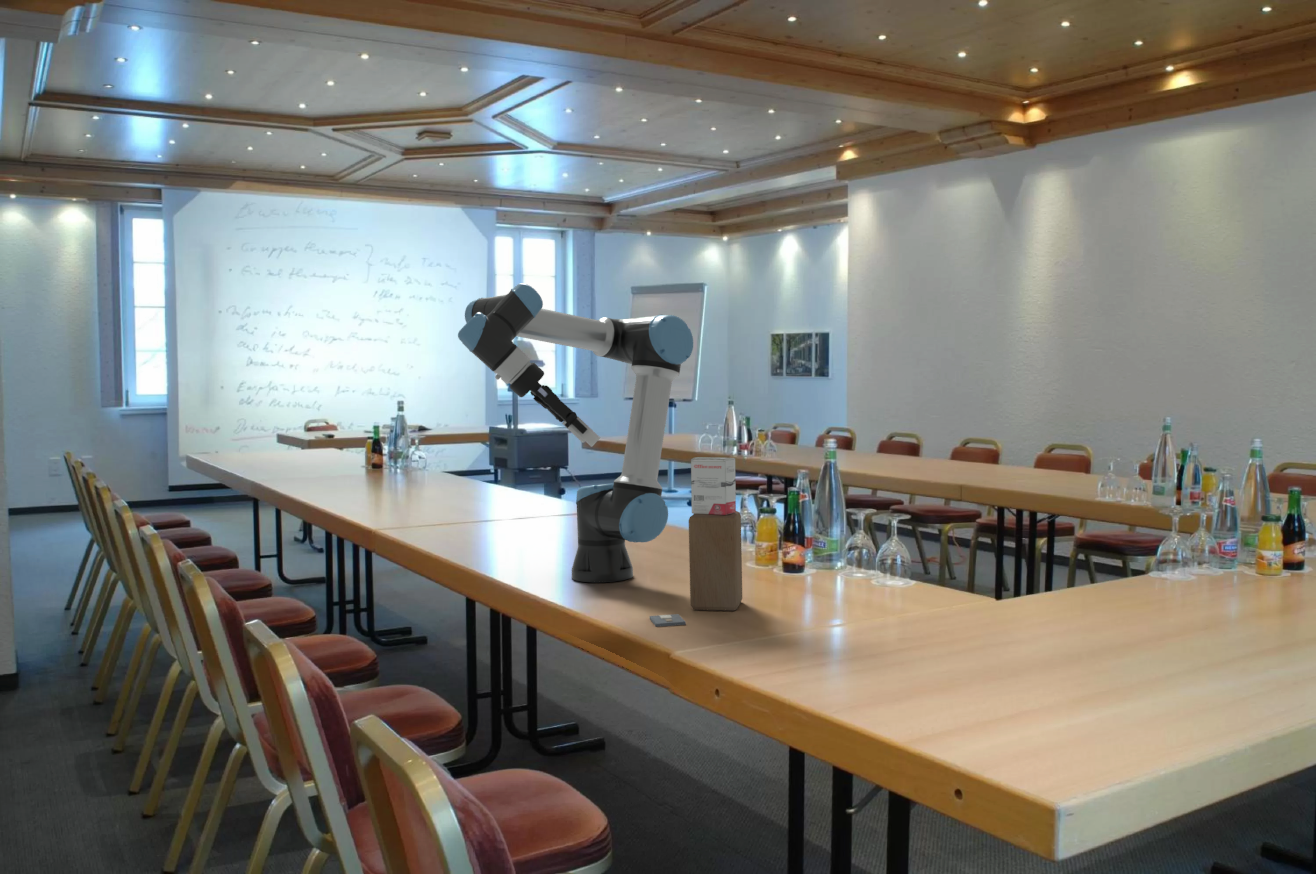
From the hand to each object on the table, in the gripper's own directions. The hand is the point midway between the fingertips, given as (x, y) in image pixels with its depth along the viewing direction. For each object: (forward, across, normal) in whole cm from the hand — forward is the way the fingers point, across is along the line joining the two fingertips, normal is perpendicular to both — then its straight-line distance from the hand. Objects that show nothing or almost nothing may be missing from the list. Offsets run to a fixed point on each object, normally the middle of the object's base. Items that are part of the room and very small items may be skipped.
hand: (591, 440), depth 231 cm
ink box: (+28, +12, +6) cm, 31 cm away
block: (+42, +12, -8) cm, 45 cm away
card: (+33, +23, -17) cm, 44 cm away
